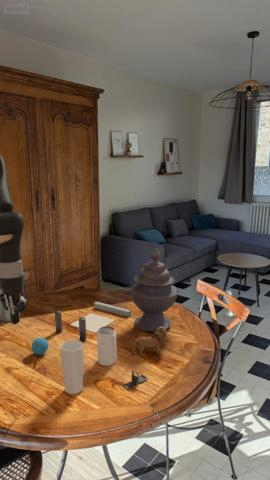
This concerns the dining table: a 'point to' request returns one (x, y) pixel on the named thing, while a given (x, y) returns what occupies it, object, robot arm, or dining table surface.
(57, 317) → the post left
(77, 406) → the dining table surface
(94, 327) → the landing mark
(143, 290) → the decorative urn
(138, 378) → the strap clip
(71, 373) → the drinking glass
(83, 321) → the post right
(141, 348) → the lion figurine
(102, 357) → the can
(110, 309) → the wall
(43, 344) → the ball
